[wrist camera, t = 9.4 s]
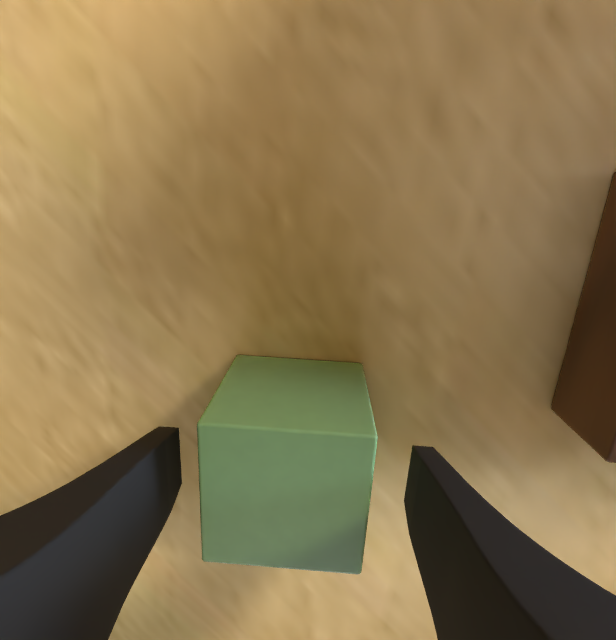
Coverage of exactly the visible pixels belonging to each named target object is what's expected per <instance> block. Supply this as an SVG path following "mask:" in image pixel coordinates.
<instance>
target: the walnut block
mask: <svg viewBox="0 0 616 640" xmlns="http://www.w3.org/2000/svg"><path fill="white" fill-rule="evenodd" d="M551 409H552V410H553V411H554V412H555V413H556V414H557V415H558V416H559V417H560V418H561V419H562V420H563V421H564V422H565V423H566V424H567V425H568V426H570V427H571V428H572V429H573V430H574V431H575V432H576V433H577V434H578V435H579V436H580V437H581V438H582V439H583V440H584V441H585V442H587V443H588V444H589V445H590V446H591V447H592V448H593V449H594V450H595V451H596V452H597V453H598V454H599V455H600V456H601V457H602V458H604V459H605V460H606V461H608V462H614V463H616V172H615V173H614V176H613V180H612V183H611V187H610V191H609V195H608V198H607V202H606V206H605V209H604V213H603V217H602V221H601V224H600V228H599V232H598V235H597V239H596V243H595V246H594V250H593V254H592V258H591V261H590V265H589V269H588V272H587V276H586V280H585V284H584V287H583V291H582V295H581V298H580V302H579V306H578V310H577V313H576V317H575V321H574V324H573V328H572V332H571V336H570V339H569V343H568V347H567V350H566V354H565V358H564V362H563V365H562V369H561V373H560V376H559V380H558V384H557V388H556V391H555V395H554V399H553V402H552V406H551Z"/></svg>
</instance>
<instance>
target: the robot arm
mask: <svg viewBox="0 0 616 640" xmlns="http://www.w3.org/2000/svg"><path fill="white" fill-rule="evenodd" d="M181 484H182V478H181V459H180V440H179V428H174V427H158V428H156V429H154V430H153V431H151V432H150V433H148V434H146V435H145V436H143V437H142V438H140V439H139V440H137V441H136V442H134V443H133V444H131V445H130V446H128V447H127V448H125V449H124V450H122V451H120V452H119V453H117V454H116V455H114V456H113V457H111V458H110V459H108V460H106V461H105V462H103V463H102V464H100V465H98V466H97V467H95V468H93V469H92V470H90V471H88V472H86V473H85V474H83V475H81V476H80V477H78V478H76V479H75V480H73V481H71V482H69V483H68V484H66V485H64V486H62V487H60V488H58V489H56V490H55V491H53V492H51V493H49V494H47V495H45V496H43V497H41V498H39V499H37V500H35V501H33V502H30V503H28V504H26V505H24V506H22V507H19V508H17V509H15V510H12V511H10V512H8V513H5V514H3V515H1V516H0V640H108V639H109V636H110V634H111V631H112V629H113V627H114V624H115V622H116V620H117V617H118V615H119V613H120V610H121V608H122V606H123V603H124V601H125V599H126V597H127V595H128V593H129V591H130V589H131V587H132V585H133V583H134V581H135V579H136V578H137V576H138V574H139V572H140V570H141V568H142V566H143V564H144V563H145V561H146V559H147V557H148V555H149V553H150V551H151V549H152V548H153V546H154V544H155V542H156V540H157V538H158V536H159V534H160V532H161V531H162V529H163V527H164V525H165V523H166V521H167V519H168V517H169V515H170V513H171V510H172V508H173V505H174V503H175V500H176V497H177V495H178V492H179V489H180V486H181ZM404 503H405V510H406V517H407V523H408V529H409V535H410V538H411V542H412V546H413V549H414V553H415V556H416V560H417V564H418V567H419V571H420V574H421V578H422V581H423V585H424V588H425V592H426V595H427V599H428V602H429V606H430V609H431V613H432V617H433V621H434V625H435V629H436V633H437V638H438V640H616V596H615V595H614V594H612V593H610V592H609V591H607V590H605V589H604V588H602V587H600V586H599V585H597V584H596V583H594V582H592V581H591V580H589V579H588V578H586V577H585V576H583V575H582V574H580V573H579V572H577V571H576V570H574V569H573V568H571V567H570V566H568V565H567V564H565V563H564V562H562V561H561V560H559V559H558V558H556V557H555V556H554V555H552V554H551V553H549V552H548V551H547V550H545V549H544V548H543V547H541V546H540V545H539V544H537V543H536V542H535V541H533V540H532V539H531V538H530V537H528V536H527V535H526V534H524V533H523V532H522V531H521V530H519V529H518V528H517V527H516V526H514V525H513V524H512V523H511V522H510V521H508V520H507V519H506V518H505V517H504V516H503V515H502V514H501V513H499V512H498V511H497V510H496V509H495V508H494V507H493V506H491V505H490V504H489V503H488V502H487V501H486V500H485V499H484V498H483V497H482V496H481V495H480V494H479V493H478V492H477V491H476V490H475V489H473V488H472V487H471V486H470V485H469V484H468V483H467V482H466V481H465V480H464V479H463V477H462V476H461V475H460V474H459V473H458V472H457V471H456V470H455V469H454V468H453V467H452V466H451V465H450V464H449V463H448V462H447V461H446V460H445V459H444V458H443V457H442V456H441V455H440V454H439V453H438V452H437V451H436V450H435V449H434V448H433V447H427V446H412V452H411V459H410V465H409V472H408V478H407V485H406V491H405V498H404Z"/></svg>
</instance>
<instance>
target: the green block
mask: <svg viewBox="0 0 616 640" xmlns="http://www.w3.org/2000/svg"><path fill="white" fill-rule="evenodd" d="M197 437H198V463H199V489H200V515H201V541H202V560H203V561H205V562H217V563H229V564H241V565H253V566H265V567H277V568H289V569H301V570H313V571H324V572H336V573H348V574H360V573H361V570H362V562H363V554H364V546H365V538H366V530H367V522H368V513H369V505H370V497H371V489H372V481H373V473H374V465H375V456H376V448H377V440H378V436H377V431H376V427H375V422H374V417H373V412H372V407H371V403H370V398H369V393H368V388H367V384H366V379H365V374H364V369H363V365H362V364H361V363H351V362H336V361H322V360H307V359H292V358H277V357H262V356H247V355H237V356H236V357H235V359H234V361H233V363H232V364H231V366H230V368H229V370H228V371H227V373H226V375H225V376H224V378H223V380H222V382H221V383H220V385H219V387H218V389H217V390H216V392H215V394H214V395H213V397H212V399H211V401H210V402H209V404H208V406H207V408H206V409H205V411H204V413H203V414H202V416H201V418H200V420H199V421H198V423H197Z"/></svg>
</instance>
